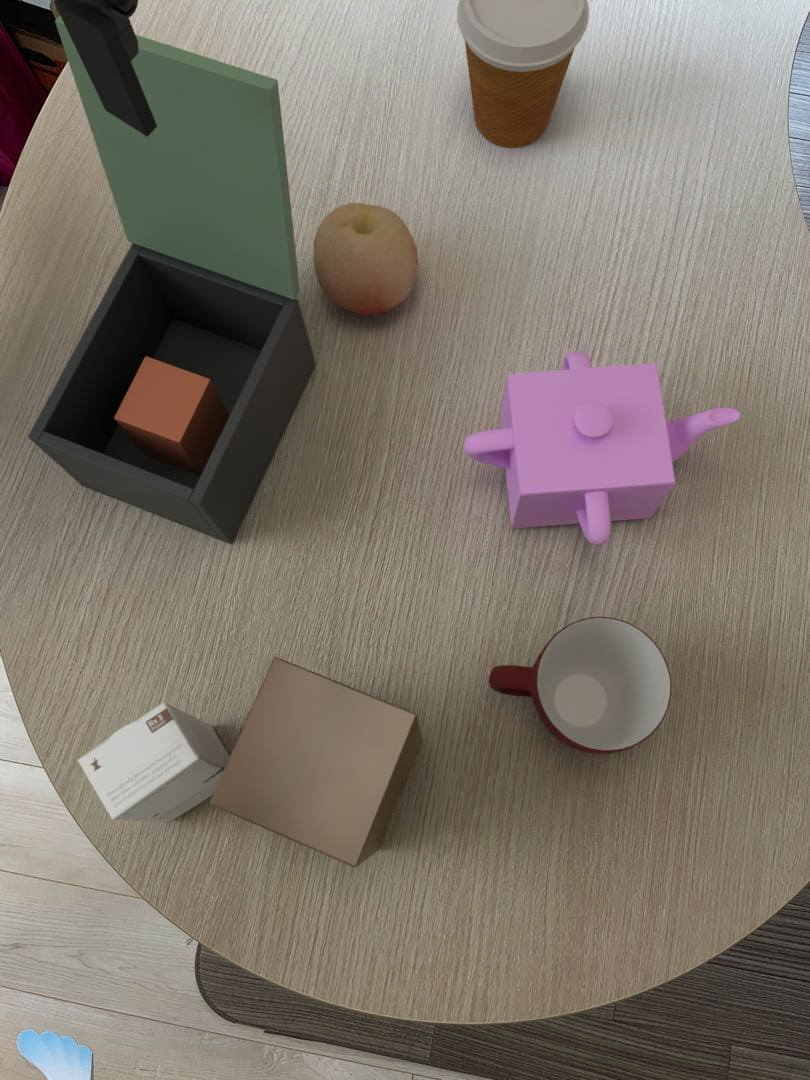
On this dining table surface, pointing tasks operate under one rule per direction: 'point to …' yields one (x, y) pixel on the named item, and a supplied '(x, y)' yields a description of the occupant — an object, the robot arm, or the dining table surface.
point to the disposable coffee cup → (518, 62)
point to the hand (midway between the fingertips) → (38, 219)
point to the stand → (319, 763)
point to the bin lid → (200, 165)
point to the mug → (594, 685)
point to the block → (173, 415)
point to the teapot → (588, 444)
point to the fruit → (365, 258)
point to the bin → (193, 345)
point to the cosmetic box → (156, 766)
